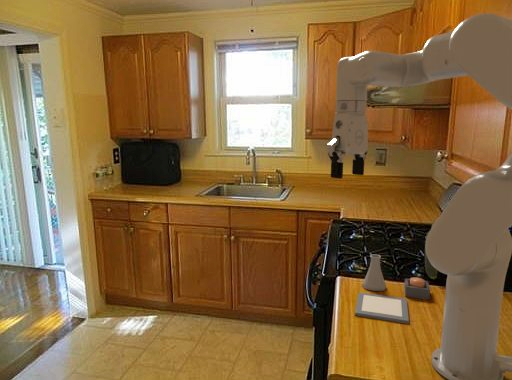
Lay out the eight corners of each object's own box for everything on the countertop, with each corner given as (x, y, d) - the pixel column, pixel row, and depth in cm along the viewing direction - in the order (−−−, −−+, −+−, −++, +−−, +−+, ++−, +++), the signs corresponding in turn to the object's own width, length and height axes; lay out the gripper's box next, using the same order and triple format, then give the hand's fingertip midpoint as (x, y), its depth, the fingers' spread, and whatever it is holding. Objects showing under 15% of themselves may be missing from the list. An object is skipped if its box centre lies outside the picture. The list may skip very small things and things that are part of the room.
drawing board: (406, 301, 105) (406, 298, 105) (408, 323, 93) (408, 320, 93) (358, 294, 110) (358, 292, 109) (354, 315, 98) (355, 312, 97)
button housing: (427, 290, 112) (427, 281, 112) (429, 299, 106) (430, 289, 106) (404, 287, 114) (405, 278, 114) (405, 296, 108) (405, 286, 108)
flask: (387, 292, 111) (389, 260, 109) (362, 290, 113) (364, 259, 111) (384, 283, 118) (386, 252, 116) (361, 281, 120) (362, 251, 118)
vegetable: (423, 279, 120) (428, 219, 117) (421, 275, 124) (426, 216, 121) (438, 281, 119) (443, 220, 116) (436, 276, 123) (441, 217, 120)
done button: (423, 287, 111) (424, 278, 111) (424, 292, 108) (425, 283, 107) (409, 285, 113) (409, 276, 112) (409, 290, 109) (410, 281, 109)
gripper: (343, 107, 86) (340, 181, 89) (381, 109, 97) (377, 174, 100) (317, 108, 91) (315, 177, 94) (356, 110, 103) (353, 172, 106)
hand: (347, 176), depth 97 cm, fingers open, 9 cm apart
